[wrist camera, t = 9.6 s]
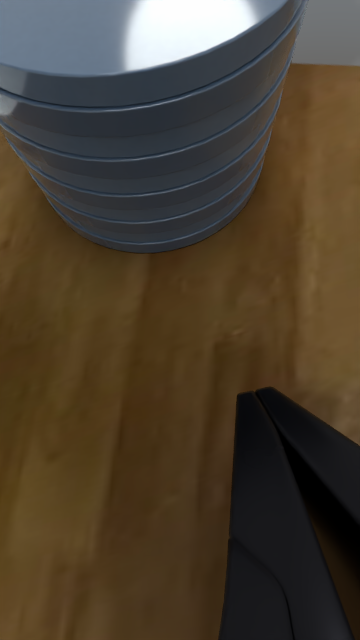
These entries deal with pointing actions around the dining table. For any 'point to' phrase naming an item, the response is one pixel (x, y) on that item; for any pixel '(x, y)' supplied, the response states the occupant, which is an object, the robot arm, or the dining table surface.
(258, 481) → the robot arm
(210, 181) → the plate stack
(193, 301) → the dining table surface
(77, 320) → the dining table surface
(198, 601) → the dining table surface
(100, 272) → the dining table surface
